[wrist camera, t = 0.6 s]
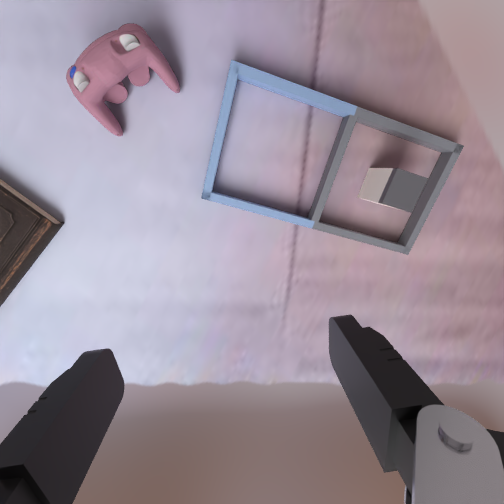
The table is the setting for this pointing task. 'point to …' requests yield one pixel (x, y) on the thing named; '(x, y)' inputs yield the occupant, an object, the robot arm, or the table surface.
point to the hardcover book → (21, 236)
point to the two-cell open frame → (332, 157)
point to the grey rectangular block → (392, 188)
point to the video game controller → (116, 71)
